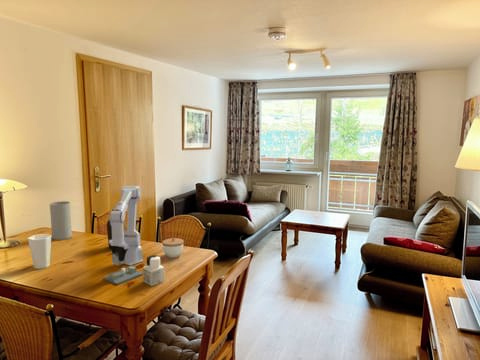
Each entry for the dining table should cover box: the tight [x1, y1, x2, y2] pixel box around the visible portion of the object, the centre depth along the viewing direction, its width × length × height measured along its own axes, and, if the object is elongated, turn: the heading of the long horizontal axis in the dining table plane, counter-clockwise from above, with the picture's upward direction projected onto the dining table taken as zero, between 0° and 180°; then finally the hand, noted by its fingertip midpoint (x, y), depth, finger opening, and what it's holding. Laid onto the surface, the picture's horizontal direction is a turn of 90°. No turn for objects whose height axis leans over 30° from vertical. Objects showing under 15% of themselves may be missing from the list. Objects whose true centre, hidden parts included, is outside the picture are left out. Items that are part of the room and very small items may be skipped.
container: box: [142, 254, 166, 287], centre depth 170 cm, size 8×8×13 cm
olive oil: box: [106, 208, 125, 250], centre depth 220 cm, size 11×11×25 cm
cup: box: [27, 233, 52, 270], centre depth 188 cm, size 11×10×17 cm
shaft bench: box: [102, 265, 143, 286], centre depth 176 cm, size 15×12×4 cm
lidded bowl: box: [161, 237, 185, 259], centre depth 207 cm, size 13×13×11 cm
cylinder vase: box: [49, 200, 73, 241], centre depth 241 cm, size 12×12×25 cm
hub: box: [111, 252, 125, 266], centre depth 175 cm, size 5×5×5 cm
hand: (119, 259), depth 176 cm, fingers closed on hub, 5 cm apart
